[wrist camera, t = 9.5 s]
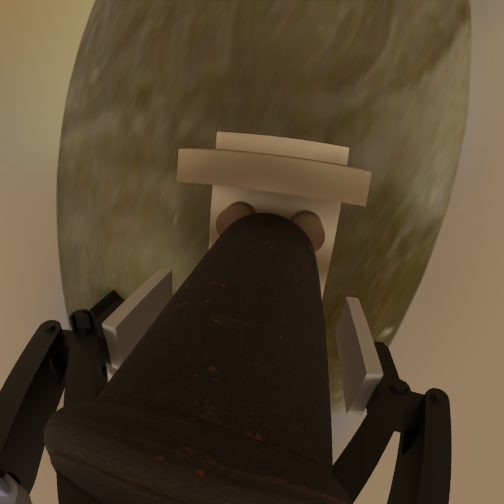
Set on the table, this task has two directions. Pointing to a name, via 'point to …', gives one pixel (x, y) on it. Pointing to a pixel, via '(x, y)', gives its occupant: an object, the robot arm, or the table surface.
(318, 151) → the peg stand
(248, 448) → the container
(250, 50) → the table surface
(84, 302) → the table surface
